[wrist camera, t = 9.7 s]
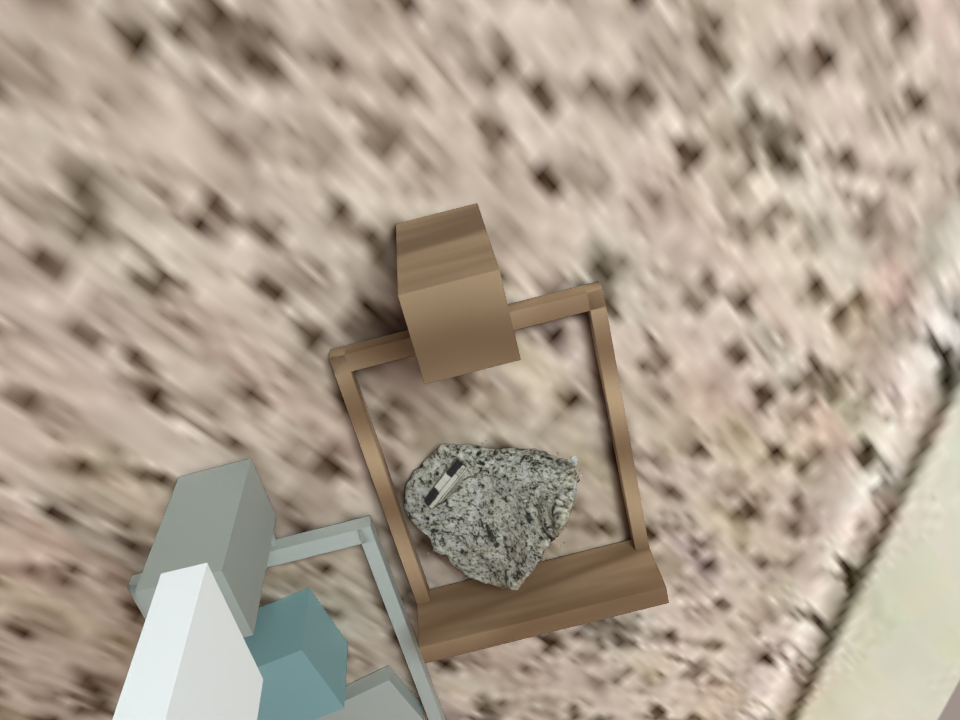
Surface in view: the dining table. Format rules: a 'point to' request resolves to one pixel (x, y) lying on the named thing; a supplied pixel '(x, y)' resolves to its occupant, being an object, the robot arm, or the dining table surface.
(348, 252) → the dining table surface
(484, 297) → the brown open frame
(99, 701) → the dining table surface
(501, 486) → the rock sample
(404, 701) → the grey rectangular block
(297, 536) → the grey open frame
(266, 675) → the teal block
